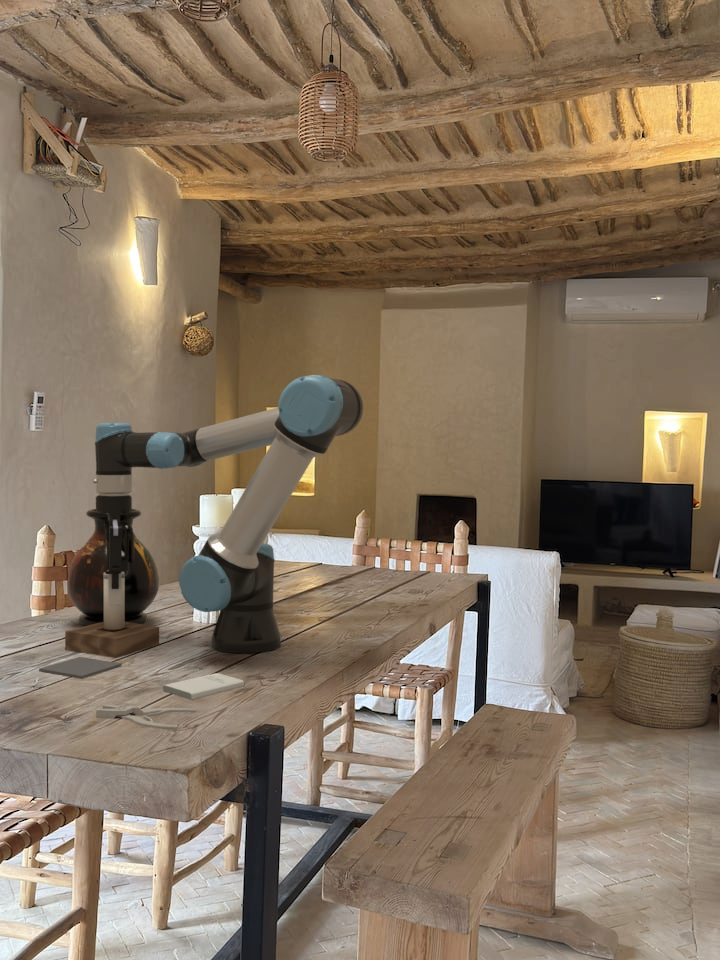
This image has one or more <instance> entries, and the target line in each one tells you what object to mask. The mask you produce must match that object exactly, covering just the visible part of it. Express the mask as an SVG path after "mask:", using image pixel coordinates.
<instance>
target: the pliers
mask: <svg viewBox="0 0 720 960" xmlns="http://www.w3.org/2000/svg"><path fill="white" fill-rule="evenodd" d="M178 712H179V713H196V712H197V709H196V708H189V707H157V708H156V707H154V708H149V709H141V708H140V707H138V706H136V705H128V706H122V705H116V704H115V705H114V704H103V705H102V708H96V709H95V713H96V715H95V718H99V719H115V718H116V717H118V718H121V719H123V720H127V721H130V722H132V723H134V724H136V725H138V726H143V727H148V728H154V729H163V730H165V729H167V730H173V729H174V730H178V729H179V725H176V724H175V725H173V724H167V723H166V724H165V723H159V722H158V723H157V722H155V721H154V720H153V719H152V718H151V717H153V716H154V717H155V716H159V715H164V714H167V713H178ZM131 713H132V714H134V715H135V716H134V715H132V714H131ZM146 715H147V716H146ZM139 716H144V719H143V718H142V717H139Z"/></svg>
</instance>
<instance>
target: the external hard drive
mask: <svg viewBox="0 0 720 960" xmlns="http://www.w3.org/2000/svg"><path fill="white" fill-rule="evenodd" d="M244 686H245V681H244V680H243V679H240V678H238V677H237V678H236V677H233V676H229V675H225V674H221V673H218V672H217V673H212V674H208V675H203V676H198V677H193V678H189V679H185V680H180V681H176V682H172V683H167V684H163V685H162V691H163V692H165V693H168V694H172V695H174V696H179V697H181V698H184V699H187V700H191V701H193V700H197V699H201V698H203V697H204V698H205V697H208V696H211V695H215V694H219V693H223V692H227V691H231V690H234V689H239V688H241V687H244Z"/></svg>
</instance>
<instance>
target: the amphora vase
mask: <svg viewBox="0 0 720 960" xmlns="http://www.w3.org/2000/svg"><path fill="white" fill-rule="evenodd" d="M141 515H142V512H141V511H140V510H139V509H136V508H132V510H131V512H129V513H120V521H123V522H124V529H123V540H122V572H125V622H129V623H136V624H144V625H146V623H147V622H148V620H149V616H148V614H147V613H146V612H144V611H145V610H147V609H148V608H149V607H150V605H152V603H153V602H154V600H155V599H156V597H157V595H158V591H159V582H160V579H159V574H158V573H159V572H158V568H157V565H156V561H155V559H154V557H153V555H152V553H151V552H150V550H149V549H148V548H147V547H146V546H145V544H143V542H142V541H141V540H140V539H139V538H138V537H137V535H136V534H135V533H134V529H133V523H134V519H136V518H139V517H141ZM86 516H87V517H88V518H91V519H92V520H94V525H95V526H94V532H93V533H92V535H91V537H89V539H88V540H87V541H85V543H84V544H83V545H82V546H81V547H80V548H79V549H78V550H77V552H76V554H75V556H74V557H73V559H72V561H71V564H70V567H69V570H68V576H67V581H66V583H67V584H66V585H67V594H68V598H69V599H70V602H71V603H72V604H73V605H74V607H76V609H77V610H78V611H79V612H81V613H82V614H81V615H80V616H78V618H77V623H78V625H80V627H84V626H88V625H92V624H96V623H100V622H104V578H103V574H104V572H105V571H107V564H106V562H107V541H106V539H105V528H104V521H108V513H98V512H96V508H95V509H88V510H87V511H86ZM108 570H109V569H108Z"/></svg>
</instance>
